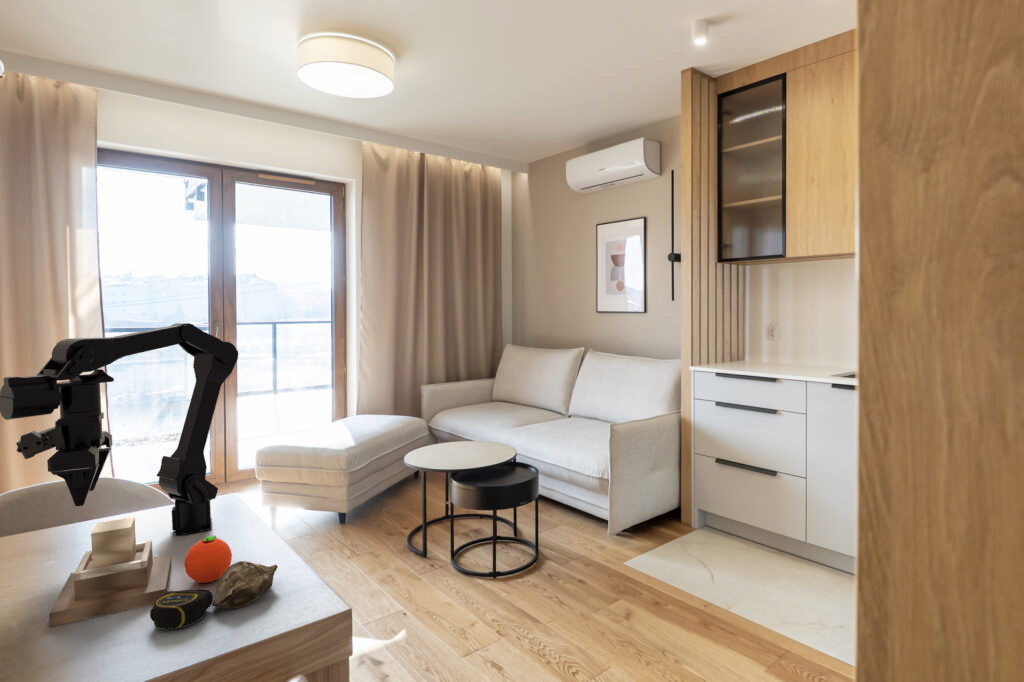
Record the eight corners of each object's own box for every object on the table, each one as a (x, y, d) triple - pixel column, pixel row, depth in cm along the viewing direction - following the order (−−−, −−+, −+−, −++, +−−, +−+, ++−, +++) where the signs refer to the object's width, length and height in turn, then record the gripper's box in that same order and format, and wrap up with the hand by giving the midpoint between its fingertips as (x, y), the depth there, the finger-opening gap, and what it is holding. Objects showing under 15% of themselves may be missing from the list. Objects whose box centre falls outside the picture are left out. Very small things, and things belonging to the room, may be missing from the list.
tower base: (171, 565, 98) (170, 532, 97) (165, 601, 85) (164, 563, 85) (71, 585, 91) (69, 549, 91) (49, 626, 79) (47, 585, 78)
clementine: (194, 571, 96) (192, 530, 95) (238, 565, 97) (236, 526, 97) (179, 593, 88) (177, 549, 87) (227, 587, 90) (225, 544, 89)
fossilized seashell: (231, 606, 79) (292, 589, 87) (222, 560, 81) (283, 547, 90) (203, 622, 82) (265, 603, 91) (196, 577, 85) (256, 563, 93)
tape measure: (215, 608, 83) (214, 584, 83) (193, 634, 77) (192, 607, 76) (168, 611, 83) (167, 586, 83) (141, 637, 76) (140, 610, 76)
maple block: (136, 552, 91) (134, 517, 91) (132, 564, 87) (130, 527, 87) (98, 559, 89) (96, 522, 89) (93, 572, 84) (91, 533, 84)
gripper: (36, 406, 101) (40, 490, 102) (2, 423, 85) (8, 524, 86) (110, 401, 107) (114, 481, 107) (92, 416, 90) (97, 511, 91)
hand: (85, 498), depth 98 cm, fingers open, 9 cm apart
